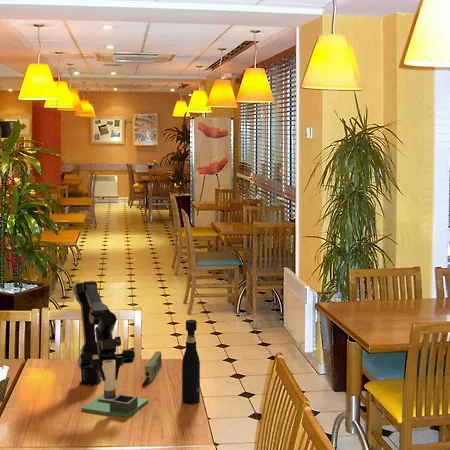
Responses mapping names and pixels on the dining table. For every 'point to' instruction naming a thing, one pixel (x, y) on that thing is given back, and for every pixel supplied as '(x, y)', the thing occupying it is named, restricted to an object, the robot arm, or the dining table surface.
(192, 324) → the wine bottle
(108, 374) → the white cylinder
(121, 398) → the board
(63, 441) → the dining table surface
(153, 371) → the handheld radio
